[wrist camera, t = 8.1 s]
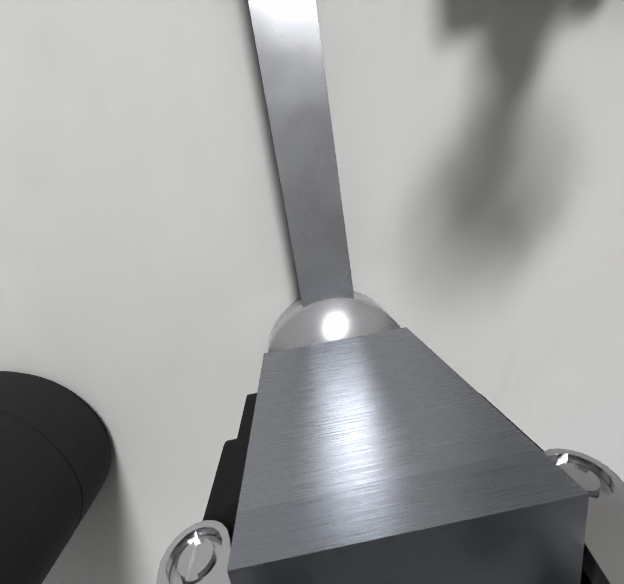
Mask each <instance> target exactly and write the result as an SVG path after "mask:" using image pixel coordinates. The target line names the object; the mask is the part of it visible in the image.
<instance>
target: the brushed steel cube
mask: <svg viewBox="0 0 624 584" xmlns="http://www.w3.org/2000/svg"><path fill="white" fill-rule="evenodd" d="M588 501H589V493H588V492H587V491H586V490H585V489H584V488H582V487H581V486H580V485H579V484H578V483H577V482H576V481H575V480H574V479H573V478H571V477H570V476H569V475H568V474H567V473H566V472H565V471H564V470H563V469H562V468H560V467H559V466H558V465H557V464H556V463H555V462H554V461H553V460H552V459H551V458H549V457H548V456H547V455H546V454H545V453H544V452H543V451H542V450H541V449H540V448H538V447H537V446H536V445H535V444H534V443H533V442H532V441H531V440H530V439H529V438H527V437H526V436H525V435H524V434H523V433H522V432H521V431H520V430H519V429H518V428H516V427H515V426H514V425H513V424H512V423H511V422H510V421H509V420H508V419H507V418H505V417H504V416H503V415H502V414H501V413H500V412H499V411H498V410H497V409H496V408H494V407H493V406H492V405H491V404H490V403H489V402H488V401H487V400H486V399H485V398H483V397H482V396H481V395H480V394H479V393H478V392H477V391H476V390H475V389H474V388H472V387H471V386H470V385H469V384H468V383H467V382H466V381H465V380H464V379H463V378H461V377H460V376H459V375H458V374H457V373H456V372H455V371H454V370H453V369H452V368H450V367H449V366H448V365H447V364H446V363H445V362H444V361H443V360H442V359H441V358H439V357H438V356H437V355H436V354H435V353H434V352H433V351H432V350H431V349H430V348H428V347H427V346H426V345H425V344H424V343H423V342H422V341H421V340H420V339H419V338H417V337H416V336H415V335H414V334H413V333H412V332H411V331H410V330H409V329H408V328H406V327H405V328H400V329H395V330H389V331H384V332H378V333H373V334H368V335H362V336H357V337H351V338H346V339H341V340H335V341H330V342H324V343H319V344H314V345H308V346H303V347H297V348H292V349H287V350H281V351H276V352H270V353H265V354H264V357H263V363H262V369H261V375H260V381H259V386H258V392H257V398H256V404H255V410H254V416H253V422H252V427H251V433H250V439H249V445H248V451H247V457H246V462H245V468H244V474H243V480H242V486H241V492H240V497H239V503H238V509H237V515H236V521H235V527H234V532H233V538H232V544H231V550H230V556H229V562H228V568H227V573H228V576H229V579H230V582H231V584H580V582H581V572H582V562H583V551H584V541H585V531H586V521H587V511H588Z"/></svg>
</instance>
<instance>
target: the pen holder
mask: <svg viewBox="0 0 624 584" xmlns="http://www.w3.org/2000/svg"><path fill="white" fill-rule="evenodd" d="M109 466H110V447H109V442H108V438H107V434H106V432H105V429H104V427H103V425H102V423H101V421H100V420H99V418H98V416H97V415H96V414H95V412H94V411H93V410H92V409H91V407H90V406H89V405H88V404H87V403H85V402H84V401H83V400H82V399H81V398H80V397H78V396H77V395H76V394H75V393H73V392H72V391H70V390H68V389H67V388H65V387H63V386H61V385H59V384H57V383H55V382H53V381H50V380H48V379H45V378H42V377H38V376H34V375H30V374H24V373H17V372H9V371H0V584H42V582H43V580H44V579H45V577H46V576H47V574H48V573H49V571H50V569H51V568H52V566H53V565H54V563H55V562H56V560H57V558H58V557H59V555H60V554H61V552H62V551H63V549H64V547H65V546H66V544H67V543H68V541H69V540H70V538H71V536H72V535H73V533H74V531H75V529H76V528H77V526H78V525H79V523H80V522H81V520H82V518H83V517H84V515H85V514H86V512H87V510H88V509H89V507H90V506H91V504H92V502H93V501H94V499H95V498H96V496H97V494H98V493H99V491H100V489H101V488H102V486H103V484H104V481H105V479H106V477H107V474H108V470H109Z"/></svg>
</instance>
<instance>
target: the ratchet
mask: <svg viewBox="0 0 624 584" xmlns="http://www.w3.org/2000/svg"><path fill="white" fill-rule="evenodd" d="M248 3H249V9H250V14H251V20H252V26H253V31H254V37H255V42H256V48H257V54H258V59H259V65H260V70H261V76H262V82H263V87H264V93H265V99H266V104H267V110H268V115H269V121H270V127H271V132H272V138H273V143H274V149H275V155H276V160H277V166H278V172H279V177H280V183H281V188H282V194H283V200H284V205H285V211H286V216H287V222H288V228H289V233H290V239H291V245H292V250H293V256H294V261H295V267H296V273H297V278H298V284H299V289H300V295H301V298H300V299H298V300H297V301H296V302H294V303H293V304H291V305H290V306H289V307H288V308H287V309H286V310H285V311H284V312H283V314H282V315H281V316H280V317H279V319H278V321H277V322H276V324H275V326H274V328H273V330H272V333H271V337H270V341H269V347H268V353H270V352H276V351H281V350H287V349H292V348H297V347H303V346H308V345H314V344H319V343H324V342H330V341H335V340H341V339H346V338H351V337H357V336H362V335H368V334H373V333H378V332H384V331H389V330H395V329H400V326H399V325H398V324H397V323H396V322H395V321H394V320H393V319H392V318H391V317H390V316H389V315H388V314H387V313H386V312H385V311H384V310H383V309H382V308H381V307H380V306H379V305H378V304H377V303H375V302H374V301H373V300H371V299H370V298H368V297H367V296H365V295H362V294H360V293H358V292H354V291H353V285H352V278H351V270H350V262H349V255H348V247H347V239H346V232H345V224H344V216H343V209H342V201H341V193H340V186H339V178H338V170H337V162H336V155H335V147H334V139H333V132H332V124H331V116H330V109H329V101H328V93H327V86H326V78H325V70H324V62H323V55H322V47H321V39H320V32H319V24H318V16H317V9H316V1H315V0H248Z"/></svg>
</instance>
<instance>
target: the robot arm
mask: <svg viewBox="0 0 624 584" xmlns="http://www.w3.org/2000/svg"><path fill="white" fill-rule="evenodd" d="M479 394H480V393H479ZM480 395H481V394H480ZM481 396H482V397H483V398H485V397H484V396H483V395H481ZM256 398H257V393H254V394H249V395H247V397H246V402H245V406H244V411H243V415H242V419H241V424H240V428H239V433H238V437H237V439H234V440H229V441H226V442H225V444H224V447H223V450H222V454H221V458H220V461H219V465H218V468H217V472H216V475H215V479H214V483H213V486H212V490H211V493H210V497H209V501H208V504H207V508H206V511H205V515H204V518H203V521H202V522H199V523H195V524H194V525H192V526H190V527H189V528H187V529H185V530H184V531H183V532H182V533H181V534H180V535H178V536H177V537H176V538H175V539H174V541H173V542H172V543H171V544H170V546H169V547H168V548H167V550H166V552H165V554H164V556H163V558H162V560H161V562H160V566H159V570H158V574H157V583H156V584H231V582H230V579H229V576H228V573H227V568H228V562H229V556H230V550H231V544H232V538H233V532H234V527H235V521H236V515H237V509H238V503H239V497H240V492H241V486H242V480H243V474H244V468H245V462H246V457H247V451H248V445H249V439H250V433H251V427H252V422H253V416H254V410H255V404H256ZM485 399H486V398H485ZM486 400H487V399H486ZM487 401H488V400H487ZM488 402H489V401H488ZM489 403H490V402H489ZM490 404H491V403H490ZM491 405H492V404H491ZM492 406H493V407H494V408H496V407H495V406H494V405H492ZM496 409H497V408H496ZM497 410H498V409H497ZM498 411H499V410H498ZM499 412H500V411H499ZM500 413H501V412H500ZM501 414H502V413H501ZM502 415H503V416H504V417H505V418H507V417H506V416H505V415H504V414H502ZM507 419H508V418H507ZM508 420H509V419H508ZM509 421H510V420H509ZM510 422H511V421H510ZM511 423H512V422H511ZM512 424H513V423H512ZM513 425H514V426H515V427H516V428H518V427H517V426H516V425H515V424H513ZM518 429H519V428H518ZM519 430H520V429H519ZM520 431H521V430H520ZM521 432H522V431H521ZM522 433H523V432H522ZM523 434H524V435H525V436H526V437H527V438H529V437H528V436H527V435H526V434H525V433H523ZM529 439H530V438H529ZM530 440H531V439H530ZM531 441H532V440H531ZM532 442H533V441H532ZM533 443H534V442H533ZM534 444H535V445H536V446H537V447H538V448H540V447H539V446H538V445H537V444H536V443H534ZM540 449H541V448H540ZM541 450H542V449H541ZM542 451H543V450H542ZM543 452H544V453H545V454H546V455H547V456H548V457H549V458H551V459H552V460H553V461H554V462H555V463H556V464H557V465H558V466H559V467H560V468H562V469H563V470H564V471H565V472H566V473H567V474H568V475H569V476H570V477H571V478H573V479H574V480H575V481H576V482H577V483H578V484H579V485H580V486H581V487H582V488H584V489H585V490H586V491H587V492H588V493H589V501H588V511H587V521H586V531H585V541H584V551H583V562H582V572H581V582H580V584H624V482H623V481H622V480H621V479H620V478H619V476H618V475H617V474H615V473H614V472H613V471H612V470H611V469H610V468H609V467H608V466H606V465H604V464H603V463H601V462H600V461H598V460H596V459H594V458H592V457H590V456H588V455H585V454H583V453H580V452H576V451H573V450H568V449H559V448H558V449H549V450H546V451H543Z"/></svg>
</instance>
